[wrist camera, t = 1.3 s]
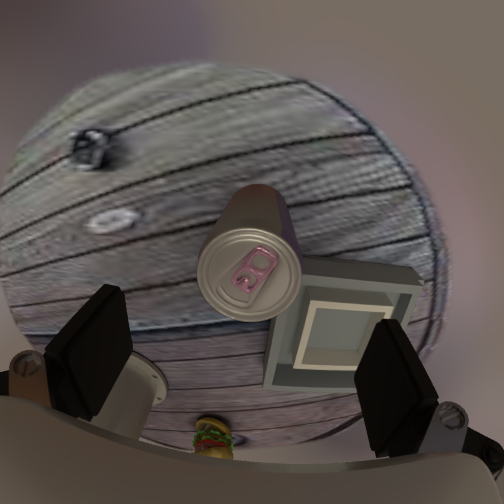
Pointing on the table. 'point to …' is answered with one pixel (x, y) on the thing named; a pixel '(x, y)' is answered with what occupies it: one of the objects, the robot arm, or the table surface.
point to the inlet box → (334, 322)
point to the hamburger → (213, 439)
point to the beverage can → (251, 257)
